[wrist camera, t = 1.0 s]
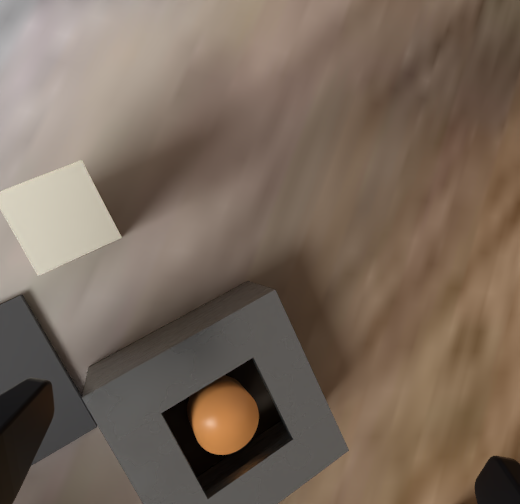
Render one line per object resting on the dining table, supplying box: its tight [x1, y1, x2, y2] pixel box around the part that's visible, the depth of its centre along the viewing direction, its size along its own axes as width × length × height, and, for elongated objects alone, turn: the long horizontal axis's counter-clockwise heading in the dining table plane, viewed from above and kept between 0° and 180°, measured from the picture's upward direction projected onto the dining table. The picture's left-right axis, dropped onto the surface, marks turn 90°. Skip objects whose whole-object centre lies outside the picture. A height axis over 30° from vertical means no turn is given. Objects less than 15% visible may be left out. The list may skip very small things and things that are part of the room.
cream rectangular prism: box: [0, 160, 122, 276], centre depth 18 cm, size 3×3×8 cm
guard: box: [82, 281, 349, 504], centre depth 22 cm, size 10×10×4 cm
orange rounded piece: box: [187, 375, 259, 455], centre depth 21 cm, size 3×3×2 cm
